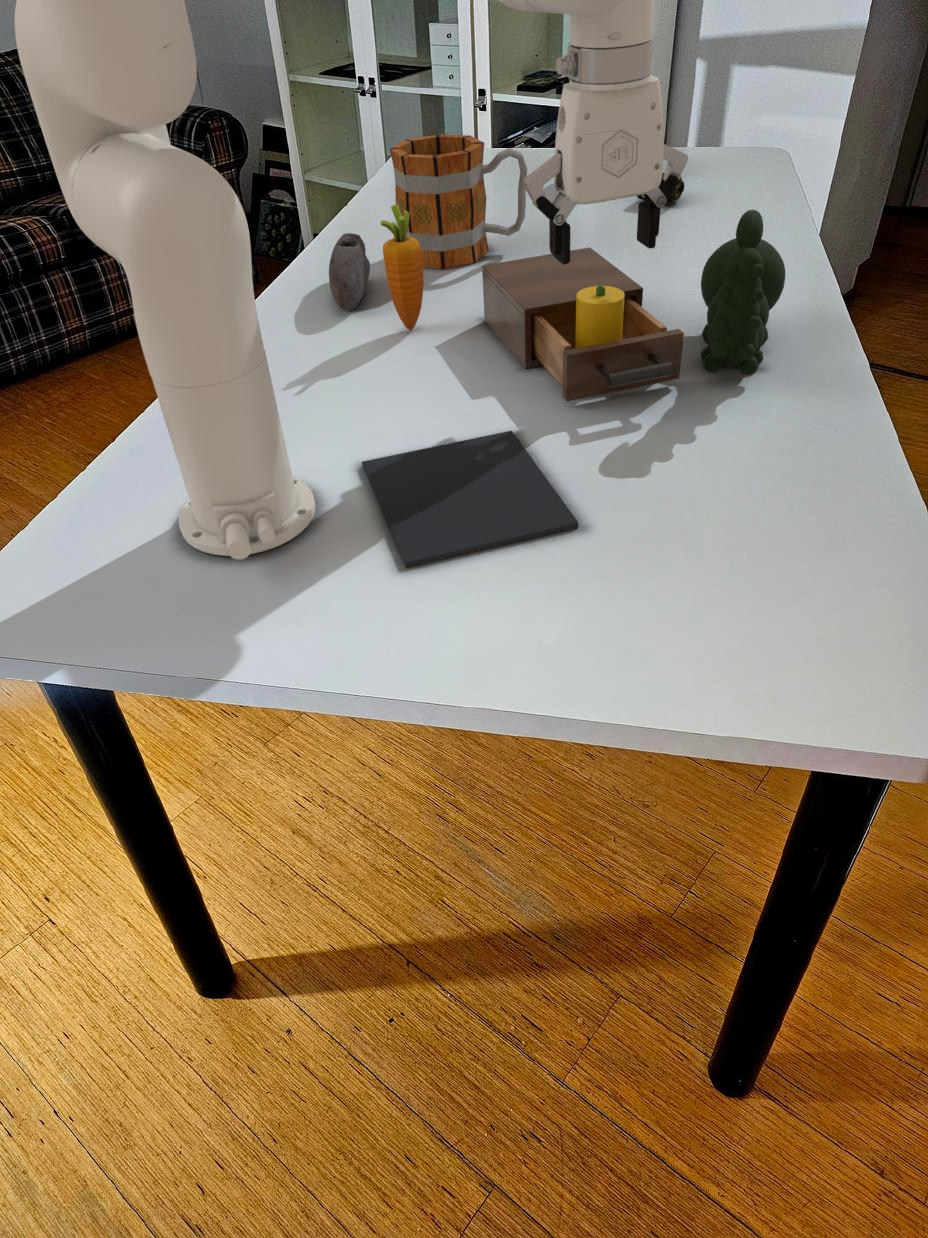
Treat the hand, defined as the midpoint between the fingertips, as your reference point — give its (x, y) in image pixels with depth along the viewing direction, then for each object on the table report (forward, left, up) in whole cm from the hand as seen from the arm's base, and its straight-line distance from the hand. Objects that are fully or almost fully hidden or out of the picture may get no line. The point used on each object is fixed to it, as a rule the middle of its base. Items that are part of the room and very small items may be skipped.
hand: (603, 252), depth 94 cm
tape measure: (+54, -35, -14) cm, 66 cm away
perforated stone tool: (+35, +22, -14) cm, 44 cm away
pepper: (0, 0, -11) cm, 11 cm away
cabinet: (+12, 0, -13) cm, 18 cm away
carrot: (+21, +17, -14) cm, 30 cm away
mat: (-19, +22, -13) cm, 32 cm away
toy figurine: (-2, -16, -14) cm, 21 cm away
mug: (+46, +2, -14) cm, 48 cm away
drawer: (-2, 0, -13) cm, 13 cm away
